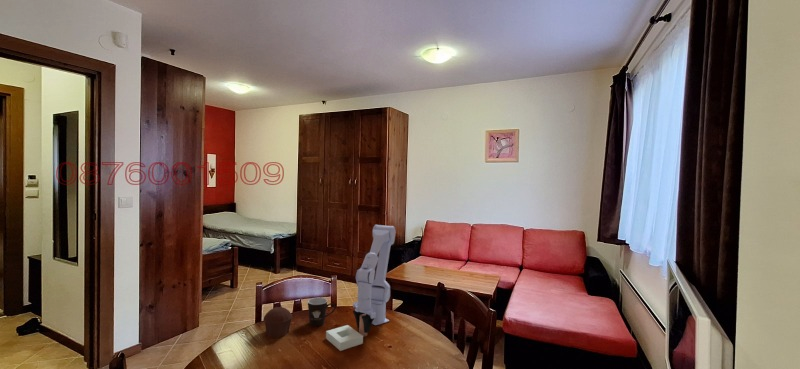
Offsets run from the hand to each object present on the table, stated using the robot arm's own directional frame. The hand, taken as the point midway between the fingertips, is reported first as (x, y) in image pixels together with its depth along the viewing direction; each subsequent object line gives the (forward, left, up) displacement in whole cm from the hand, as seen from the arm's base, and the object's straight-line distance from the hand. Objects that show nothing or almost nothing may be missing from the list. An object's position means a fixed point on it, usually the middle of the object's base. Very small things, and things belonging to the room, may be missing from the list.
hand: (363, 329), depth 136 cm
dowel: (0, 0, -2) cm, 2 cm away
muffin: (-22, -28, -2) cm, 36 cm away
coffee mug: (-20, -10, -2) cm, 22 cm away
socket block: (0, -9, -2) cm, 9 cm away
